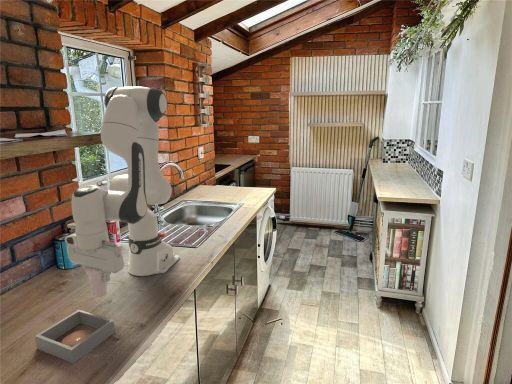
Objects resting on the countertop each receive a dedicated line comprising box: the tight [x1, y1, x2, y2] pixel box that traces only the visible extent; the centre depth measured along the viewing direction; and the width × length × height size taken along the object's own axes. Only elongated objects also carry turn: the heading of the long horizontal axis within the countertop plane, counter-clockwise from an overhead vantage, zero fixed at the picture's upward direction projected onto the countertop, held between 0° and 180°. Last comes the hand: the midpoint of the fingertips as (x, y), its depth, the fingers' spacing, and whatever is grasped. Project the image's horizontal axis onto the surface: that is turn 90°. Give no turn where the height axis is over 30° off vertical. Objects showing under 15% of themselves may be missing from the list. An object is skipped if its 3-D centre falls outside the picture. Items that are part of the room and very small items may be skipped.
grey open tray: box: [34, 309, 116, 364], centre depth 98 cm, size 14×14×4 cm
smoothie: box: [85, 267, 108, 298], centre depth 110 cm, size 6×6×14 cm
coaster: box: [60, 329, 93, 347], centre depth 99 cm, size 8×8×1 cm
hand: (98, 278), depth 110 cm, fingers closed on smoothie, 5 cm apart
